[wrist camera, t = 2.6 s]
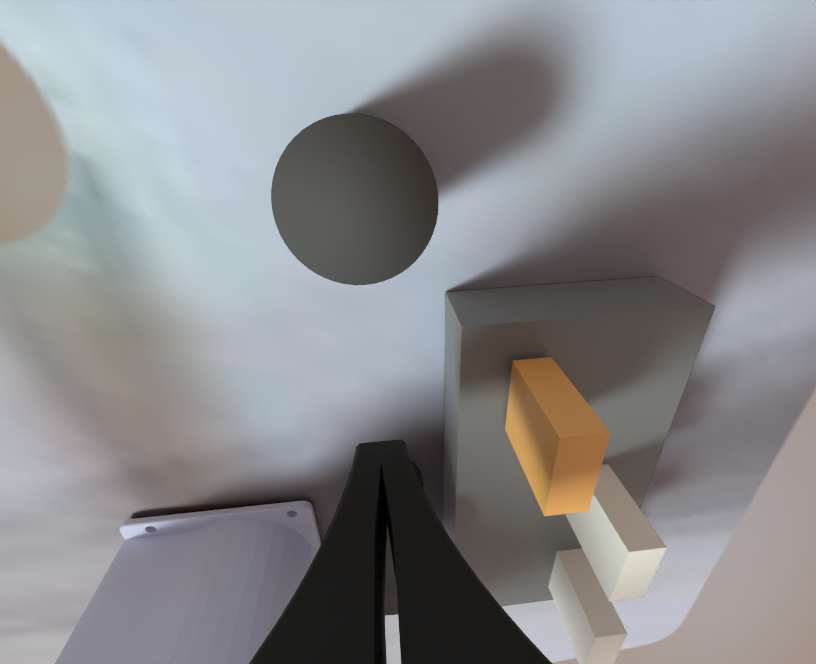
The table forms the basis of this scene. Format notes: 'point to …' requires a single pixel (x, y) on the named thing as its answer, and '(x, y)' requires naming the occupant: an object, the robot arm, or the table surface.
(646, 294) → the block
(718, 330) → the table surface
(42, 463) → the table surface
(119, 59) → the table surface
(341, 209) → the dark grey cylinder
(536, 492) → the block
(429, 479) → the table surface
